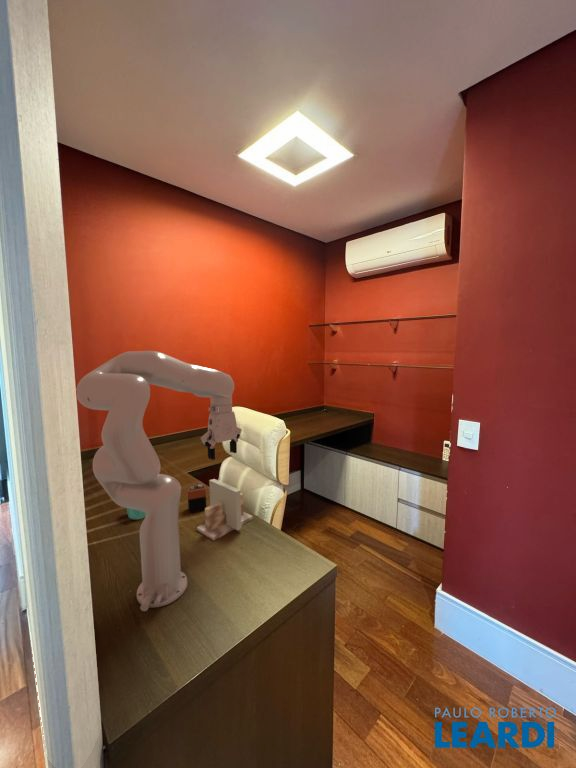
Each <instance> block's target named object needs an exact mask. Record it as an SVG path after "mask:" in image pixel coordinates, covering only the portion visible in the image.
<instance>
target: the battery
mask: <svg viewBox="0 0 576 768" xmlns="http://www.w3.org/2000/svg"><path fill="white" fill-rule="evenodd" d="M186 491H187V506H188V507H187V508H188V512H189V514H190V513H196V512H197V513H198V512H201V511H205V508H206V507H207V493H206V492H207V489H206V487H205V485H204V484H203V483H199V484H198V485H191V486H189V487H187V489H186Z"/></svg>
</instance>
